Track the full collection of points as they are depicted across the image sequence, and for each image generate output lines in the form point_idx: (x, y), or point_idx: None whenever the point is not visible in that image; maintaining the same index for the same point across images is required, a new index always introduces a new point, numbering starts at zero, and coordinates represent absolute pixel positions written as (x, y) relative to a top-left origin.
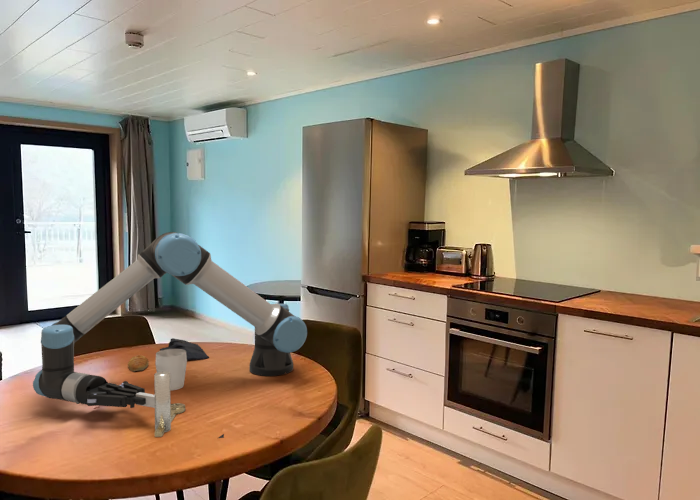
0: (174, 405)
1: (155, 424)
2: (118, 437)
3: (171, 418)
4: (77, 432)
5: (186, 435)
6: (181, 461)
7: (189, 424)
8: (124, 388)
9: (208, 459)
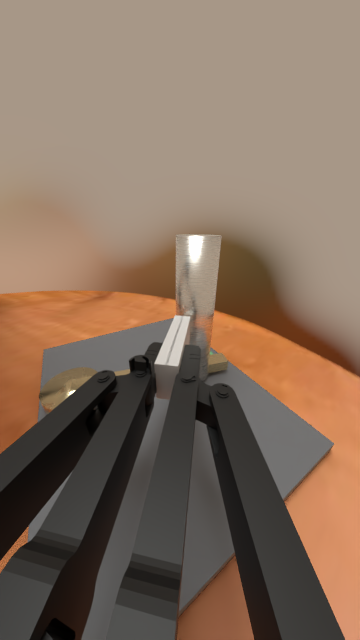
0: (60, 390)
1: (206, 364)
2: None
3: None
4: None
5: None
6: (250, 334)
7: None
8: (69, 489)
9: (230, 320)
